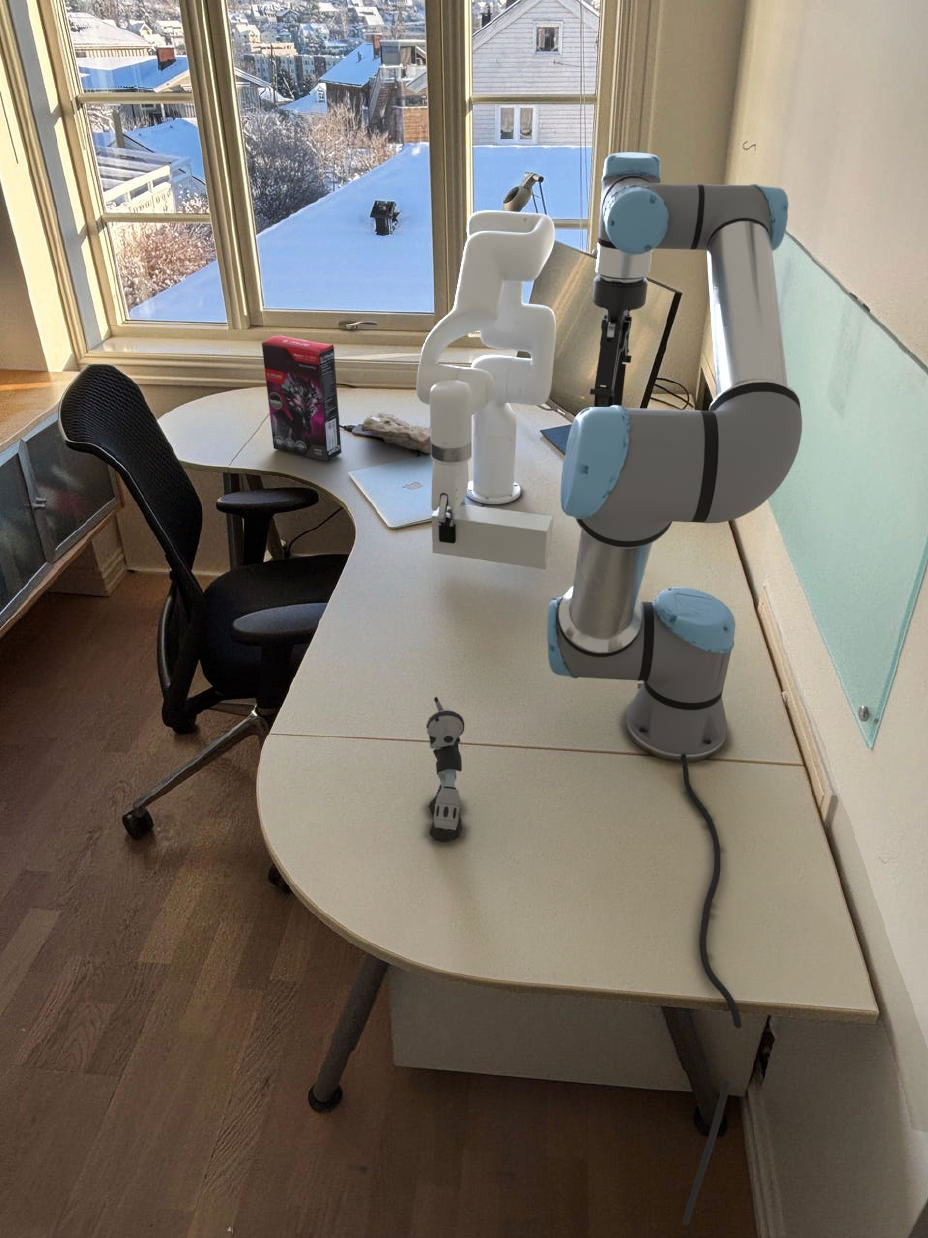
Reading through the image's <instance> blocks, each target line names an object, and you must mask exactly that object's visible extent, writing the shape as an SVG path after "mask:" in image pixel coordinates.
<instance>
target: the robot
mask: <svg viewBox="0 0 928 1238" xmlns="http://www.w3.org/2000/svg"><path fill="white" fill-rule="evenodd" d="M433 701H434V703H435V706H436V708H437V712H434V713H433V714H432V715H430V717H429V718H428V720H427V722H426V724H425V727H426V734H427V735H428V738H429V747H430V749H432V753H433V755H434V757H435V759H436V762H435V769H436V775H437V777H438V778H439V783H440V784H439V785H438V789H437V792H436V795H434V797H433V798H432V799H431V801H430V802H429V804H428V809H429V811H430V814H431V815H432V816H433V821H432V824H431V826H430V829H429V832H428V834H429V835H430V836H431V837H432V838H433V839H434V840H435V841H439V842H449V841H452V840H454V839H457V838H459V837H460V835H461V832H462V831H463V827H462V826H463V825H462V817H461V815H460V812H461V810H462V808H461V797H460V793H459V792H460V791H459V790H458V789H457V787H456V781H457V772H462V770H463V766H462V765H463V761H462V755H461V752H460V747H459V743H460V742H461V737H460V736H461V735H463V733H464V732H465V720H464V717H462V715H461V714H460V713H458V712H457V711H454V710H451V709H445V708H444V707H443V705H442V703H441V702H440V699H439V698H438V697H437V696H435V697H434V698H433Z"/></svg>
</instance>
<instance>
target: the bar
mask: <svg viewBox="0 0 928 1238" xmlns="http://www.w3.org/2000/svg"><path fill="white" fill-rule="evenodd" d="M447 509H452V508H450V507H449V506H447ZM438 511H439V507H438V509H437V510H435V511H433V513H432V514H431V542H432V543H431V544H432V554H438V555H445V556H452V557H459V558H465V559H466V558H467V559H472V560H480V561H487V562H494V563H499V564H500V563H502V564H508V565H515V566H522V567H527V568H534V569H540V570H541V569H542V570H545V569H546V566H547V564H548V561H549V559H550V556H551V552H552V540H553V539H552V537H553V521H554V520H553V519H554V516H553V515H546V514H541V513H531V512H525V511H516V510H511V509H510V510H508V509H502V508H494V507H486V506H478V505H472V504H465V505H464V504H461V505H460V507H459V508H458V510H457V511H456V512H455V516H454V524H455V525H456V541H455V543H454V544H452V543H445V542H440V541H439V525H438V522H439V521H438V519H437V516H438ZM450 514H451V513H446V517H449V519H450Z"/></svg>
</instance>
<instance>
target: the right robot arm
mask: <svg viewBox="0 0 928 1238" xmlns="http://www.w3.org/2000/svg"><path fill="white" fill-rule="evenodd" d="M661 166H662V162H661V159H660V158H659V156H657V155H655V154H653V153H646V152H634V151H633V152H632V151H631V152H630V151H627V152H626V151H625V152H624V151H623V152H615V153H611V154H608V156H607V157H606V158H605V160H604V165H603V173H602V178H600V179H601V182H600V183H601V192H600V193H601V194H600V205H599V221H598V237H597V245H596V246H597V247H596V248H593V250H592V251H591V255H592V256H593V257H597V258H596V259H595V271H594V272H595V273H596V275H595V277H594V279H593V289H592V302H593V304H594V305H595V306H596V307H598V308H600V309H602V308H603V309H605V310H606V311H607V313H606V314H604V317H603V319H601V326H600V329H601V334H600V335H601V337H600V341H599V352H598V353H599V354H598V360H597V366H596V375H595V380H594V388H590V390H589V395H593V396H594V402H593V406H590V407H586V408H584V409H582V410H581V411H579V412H578V413H577V415H576V416H575V418H574V419H573V422H572V423H571V426H570V430H569V433H568V436H567V439H566V440H567V441H566V446H565V456H564V459H563V463H562V470H561V477H560V478H561V481H560V505H561V506H560V507H561V509H562V512H563V513H565V515H566V516H568V517H573V518H574V520H575V521H576V523H577V525H578V526H579V528H580V535H579V542H578V544H579V545H578V551H577V557H576V563H575V570H574V577H573V584H572V585H573V586H571V587H570V588H569V589H568V590H567V591H566V592H565V593H564V595H560V596H555V597H552V598H551V599H550V600H549V604H548V608H547V624H546V625H547V628H546V629H547V630H546V631H547V632H546V633H547V634H546V635H547V637H546V639H547V657H548V658H547V659H548V664H549V668H550V671H551V672H553V673H554V674H555V675H557V676H561V677H569V678H572V679H579V678H581V679H583V678H584V679H585V678H586V679H603V680H619V681H621V680H623V681H638V682H637V688H636V689H638V691H637V692H636V694H635V695H634V697H633V699H632V701H631V702H630V704H629V706H628V708H627V712H626V719H625V728H626V732H627V734H628V736H629V738H630V739H631V741H632V742H634V744H636V745H637V746H638V747H639V748H640V749H641V750H643V751H645V752H646V753H648V754H650V755H651V756H654V757H656V758H659V759H662V760H666V761H670V762H675V763H681V768H682V778H683V783H684V787H685V789H686V792H687V794H688V795H689V798H690V799H691V801H692V802H693V804H694V805H695V806H696V808H697V809H698V811H699V812H700V813H701V815H702V816H703V818H704V820H705V822H706V825H707V827H708V829H709V832H710V836H711V839H712V844H713V873H712V877H711V882H710V884H709V888H708V890H707V894H706V896H705V899H704V904H703V907H702V908H703V909H702V915H701V916H702V917H701V924H700V928H699V929H700V930H699V942H698V943H699V945H698V946H699V955H700V959H701V963H702V967H703V970H704V972H705V974H706V976H707V978H708V980H709V981H710V982H711V983H712V985H713V986H714V987H715V988H716V990H717V991H718V992H719V993H720V994H721V996H722V997H723V998H724V1000H725V1001H726V1003H727V1005H728V1008H729V1009H730V1013H731V1016H732V1023H733V1025H734V1027H735V1028H736V1029H740V1028H742V1018H741V1015H740V1011H739V1007H738V1006H737V1005H738V1004H737V1003H736V1001H735V999H734V997H733V996H732V994H731V993H730V991H729V990H728V989H727V987H726V986H725V985H724V983H722V982H721V981H720V980H719V978H718V976H717V975H716V974H715V972H714V971H713V969H712V967H711V964H710V961H709V956H708V950H707V937H708V929H709V922H710V914H711V907H712V903H713V900H714V897H715V894H716V892H717V888H718V884H719V882H720V877H721V867H722V866H721V863H722V859H721V858H722V857H721V856H722V855H721V845H720V839H719V836H718V832H717V828H716V826H715V824H714V821H713V818H712V817H711V815H710V813H709V811H708V810H707V808H706V807H705V806H704V805H703V803H702V802H701V800H700V799H699V798H698V796H697V795H696V793H695V791H694V789H693V787H692V785H691V782H690V774H689V773H690V772H689V765H688V763H694V762H700V761H703V760H706V759H709V758H711V757H714V755H716V754H718V752H720V751H721V750H722V748H723V747H724V744H725V743H726V740H727V739H726V738H727V733H728V721H727V716H726V712H725V708H724V707H725V706H724V701H723V692H724V686H725V682H726V678H727V674H728V673H727V672H728V668H729V664H730V659H731V654H732V651H733V649H734V646H735V632H736V620H735V617H734V614H733V612H732V610H731V609H730V608H729V607H728V606H727V605H726V603H724V602H723V601H722V600H720V599H718V598H717V597H715V596H714V595H712V594H710V593H708V592H706V591H703V590H700V589H696V588H693V587H687V586H674V587H673V586H671V587H669V588H668V589H663V590H661V591H659V593H657V596H656V597H655V599H654V600H653V601H641V600H638V596H639V593H640V590H641V586H642V583H643V579H644V575H645V572H646V568H647V564H648V561H649V557H650V554H651V550H652V546H653V543H654V542H656V541H658V540H660V538H662V537H663V536H664V535H665V534H666V532H667V531H668V530H669V529H670V528H671V525H672V524H673V523H674V522H677V523H697V524H698V523H699V524H701V523H702V524H720V523H725V522H730V521H734V520H736V519H739V518H742V517H743V516H746V515H747V514H749V513H752V512H753V511H755V510H756V509H757V508H759V507H760V506H762V505H763V504H764V503H765V502H766V501H767V500H769V498H770V497H771V496H772V495H773V494H774V493H775V492H776V491H777V490H778V489H779V487H780V486H781V485H782V483H783V482H784V481H785V479H786V478H787V476H788V475H789V472H790V471H791V468H792V467H793V465H794V463H795V460H796V457H797V455H798V453H799V448H800V444H801V439H802V432H803V417H802V407H801V401H800V398H799V395H798V393H797V392H796V391H795V389H793V388H792V387H790V386H789V385H788V377H787V368H786V360H785V351H784V343H783V333H782V324H781V316H780V315H781V314H780V306H779V299H778V288H777V280H776V272H775V263H774V254H773V252H774V251H777V250H778V248H779V247H780V246H781V245H782V242H783V240H784V239H785V233H786V232H787V231H786V230H787V226H788V225H787V224H788V220H789V219H788V218H789V213H788V210H789V198H788V195H787V193H786V191H785V190H784V189H783V188H781V187H778V186H770V185H769V186H768V185H758V184H757V183H756V184H755V183H750V184H701V183H700V184H698V183H697V184H696V183H669V182H668V183H662V182H661V180H662V177H661V168H662V167H661ZM654 249H658V250H659V249H660V250H691V251H692V250H693V251H694V250H696V251H706V255H707V256H706V257H707V273H708V274H707V275H708V289H709V291H708V292H709V304H710V306H709V307H710V320H711V321H710V322H711V334H712V349H713V350H712V353H713V367H714V385H715V398H714V399H713V401H712V402H711V403H710V405H709V408H708V410H699V409H698V410H696V409H669V408H639V407H624V406H623V398H624V397H623V396H624V388H625V379H626V371H627V364H631V363H632V355H628V354H629V353H630V349H629V344H630V333H631V328H632V323H633V316H631V311H634V310H638V309H641V308H643V307H644V306H645V305H646V302H647V293H648V292H647V291H648V284H649V281H648V279H647V278H646V277H647V276H648V275H650V270H651V262H652V254H653V253H652V252H653V250H654ZM640 682H642V683H640ZM730 1086H731V1081H727V1080H725V1079H724V1080H722V1083H721V1087H720V1092H719V1097H718V1101H717V1105H716V1107H715V1108H716V1109H715V1113H714V1116H713V1120H712V1122H711V1123H712V1124H711V1126H710V1130H709V1134H708V1137H707V1141H706V1143H705V1146H704V1150H703V1153H702V1156H701V1159H700V1162H699V1166H698V1169H697V1172H696V1175H695V1179H694V1180H693V1185H692V1188H691V1191H690V1194H689V1198H688V1201H687V1204H686V1208H685V1211H684V1214H683V1219H682V1225H684V1226H686V1227H687V1226H689V1223H690V1221H691V1217H692V1213H693V1210H694V1206H695V1203H696V1200H697V1197H698V1194H699V1191H700V1188H701V1184H702V1182H703V1179H704V1175H705V1173H706V1169H707V1166H708V1163H709V1160H710V1157H711V1155H712V1151H713V1149H714V1145H715V1142H716V1138H717V1136H718V1132H719V1128H720V1126H721V1122H722V1118H723V1114H724V1112H725V1107H726V1103H727V1099H728V1094H729V1090H730Z"/></svg>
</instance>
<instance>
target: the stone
mask: <svg viewBox="0 0 928 1238" xmlns="http://www.w3.org/2000/svg"><path fill="white" fill-rule="evenodd" d="M360 430H361V432H363V433H365V432H371V433H373V435H374V436H376V437H378V438H382V439H383V441H384V442H385V443H388V444H392V443H394V444H395V445H398V446H400V447H404V448H406V449H410V450H416V451H417V450H418V451H420V452H422V453H426V454H431V434H430V426H422V425H417V424H409V423H408V422H406V421H404V420H400V419H399V417H397V416H396V417H395V416H394V415H393V414H388V413H384V412H379V413H377V414H369V415H368V416H366V419H365V420H364V421H363V423H362V425H361V427H360Z"/></svg>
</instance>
